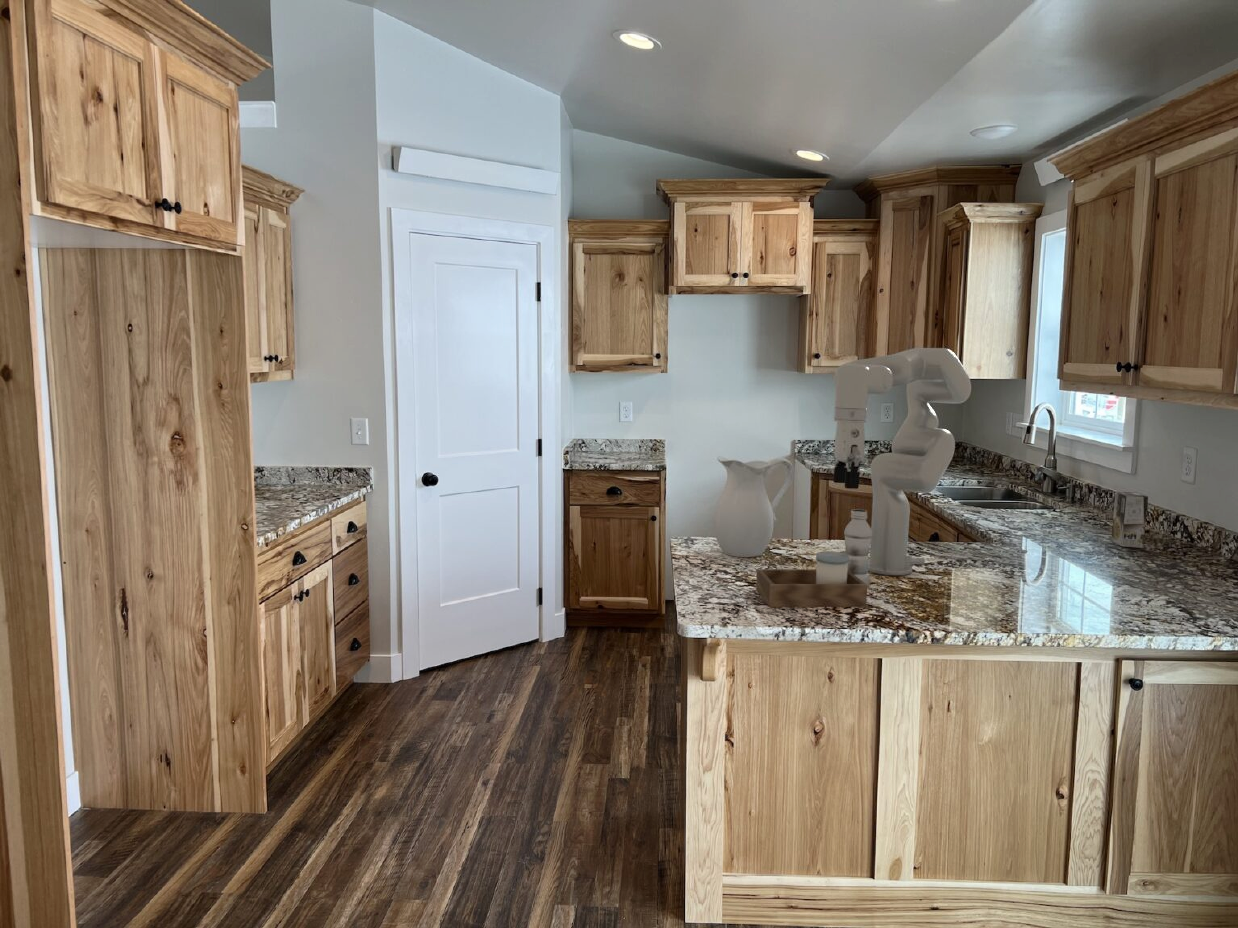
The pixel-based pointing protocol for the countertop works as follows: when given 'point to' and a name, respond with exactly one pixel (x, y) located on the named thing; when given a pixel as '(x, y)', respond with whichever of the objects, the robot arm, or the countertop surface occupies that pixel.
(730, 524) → the pitcher
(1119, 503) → the coffee box
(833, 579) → the jar
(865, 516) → the grey metal bottle
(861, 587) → the crate
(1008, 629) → the countertop surface
